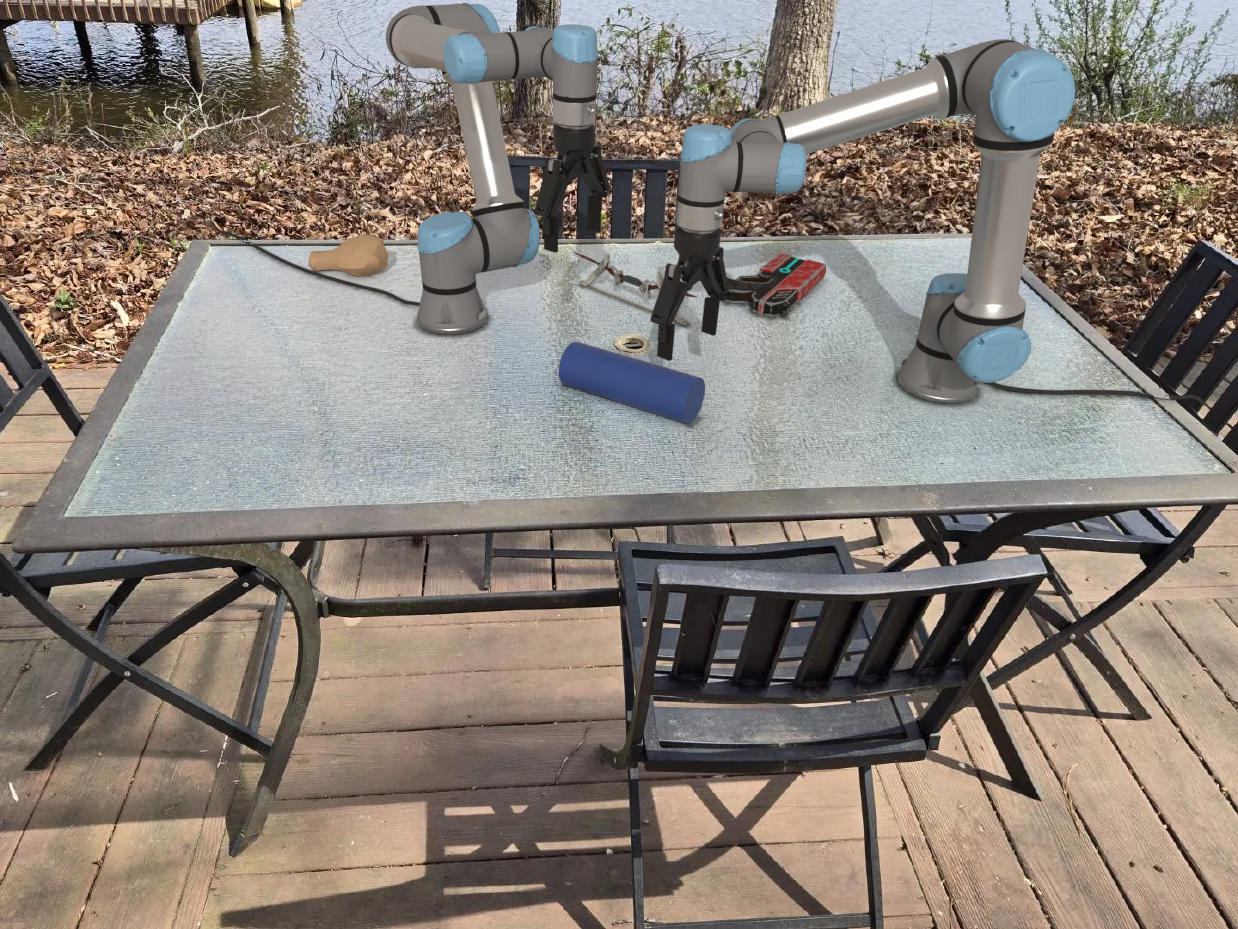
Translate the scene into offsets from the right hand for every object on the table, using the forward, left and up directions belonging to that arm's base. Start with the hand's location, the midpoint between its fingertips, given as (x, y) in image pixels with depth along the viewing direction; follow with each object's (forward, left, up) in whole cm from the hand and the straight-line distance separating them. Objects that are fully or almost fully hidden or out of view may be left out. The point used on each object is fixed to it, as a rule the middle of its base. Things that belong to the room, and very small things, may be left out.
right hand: (687, 345), depth 154 cm
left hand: (+15, -26, +11) cm, 32 cm away
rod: (+7, -9, -16) cm, 20 cm away
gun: (-41, -55, -16) cm, 70 cm away
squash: (+60, -87, -16) cm, 107 cm away
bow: (-5, -54, -16) cm, 57 cm away
